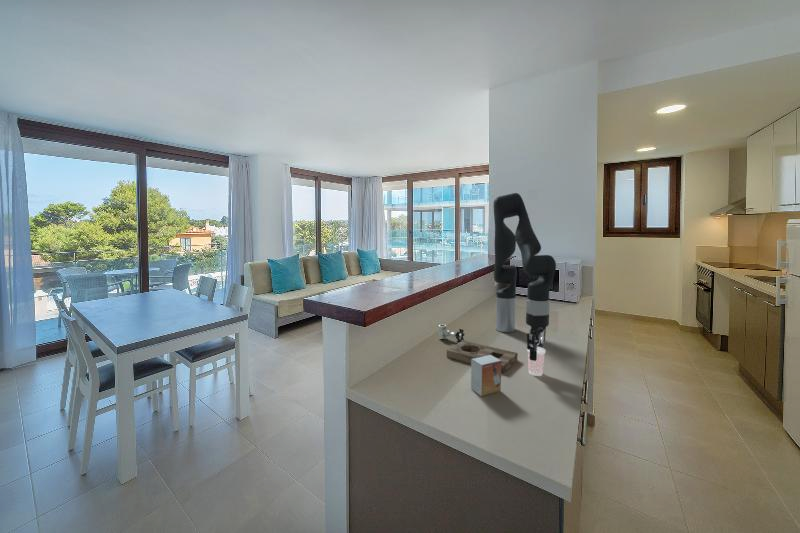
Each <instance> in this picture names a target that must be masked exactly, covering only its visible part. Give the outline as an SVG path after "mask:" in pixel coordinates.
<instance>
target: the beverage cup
mask: <svg viewBox="0 0 800 533" xmlns="http://www.w3.org/2000/svg"><path fill="white" fill-rule="evenodd" d="M532 347H533V345H532ZM526 351H527V361H528V373H529V375H531V376H533V377H534V376H535V377H541V376H542V375H543V372H544V363H545V354H546V348H544V347H543V348H541V347H537V360H536V361H533V360H530V350H528V349H527V348H526Z"/></svg>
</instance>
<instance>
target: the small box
mask: <svg viewBox="0 0 800 533" xmlns="http://www.w3.org/2000/svg"><path fill="white" fill-rule="evenodd" d="M470 366H471V367H470V369H471V371H470V374H471V375H470V379H471V380H470V389H471V390H472V391H473V392H475V393H477V395H479V396H480V397H484V396H486V395H487V396H488V395H490V394H495V393H500V392H501V388H502V387H501V386H502V383H501V382H502V373H501V360H499V359H497V358H495V357H494V356H492V355H488V356H484V357H479V358H474V359H471V364H470Z"/></svg>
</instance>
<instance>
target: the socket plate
mask: <svg viewBox="0 0 800 533" xmlns="http://www.w3.org/2000/svg"><path fill="white" fill-rule="evenodd" d="M518 354H519V353H518V352H516V351H511V350H506V349H503V348H498V347H494V346H489V345H486V344H482V343H477V342H474V341H473V342H472V341H468V340H465V339H464V340H462V341H461V342H459V343H458V342H457V344H455V345H453V346H451V347H449V348H447V349H446V358H449V359H453V360H457V361H459V362H463V363H467V364H470V365H471V359H474V358H479V357H484V356H488V355H492V356H494V357H495V358H497V359H499V360H501V374H505V373H506V372H507V370H509V369H510V368H511V367H512V366H513V365H514V364H515V363H516V362H517V361H518V360H519V359H518V356H519V355H518Z"/></svg>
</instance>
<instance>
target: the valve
mask: <svg viewBox="0 0 800 533" xmlns="http://www.w3.org/2000/svg"><path fill="white" fill-rule="evenodd" d="M437 333H438V339H439V340H440V339H446V340H447V338H448V337H450V336H451V337H455V338H456V339H455V340H456V343H457V344H458V343H459V342H461V341H463V340H465V338H464V336H465V333H464V329H463V328H459V329H458V331H457V332H456V333H455V332H453V331H451V330H449V329H447V324H443V323H441V324H439V325H438V330H437Z"/></svg>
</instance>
